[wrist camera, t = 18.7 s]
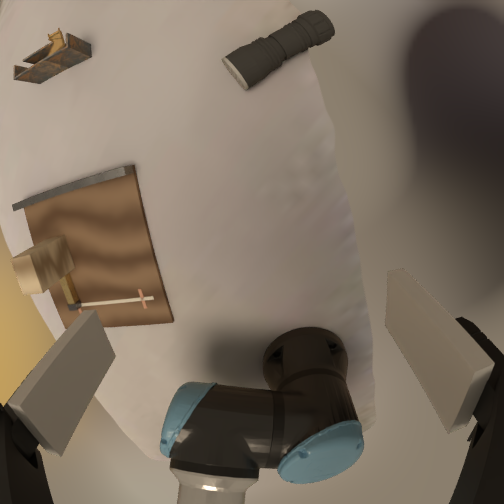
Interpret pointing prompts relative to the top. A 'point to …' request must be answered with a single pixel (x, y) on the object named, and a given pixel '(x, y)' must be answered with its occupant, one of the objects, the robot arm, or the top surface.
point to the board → (103, 248)
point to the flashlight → (278, 47)
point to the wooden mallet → (47, 269)
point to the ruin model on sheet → (53, 58)
